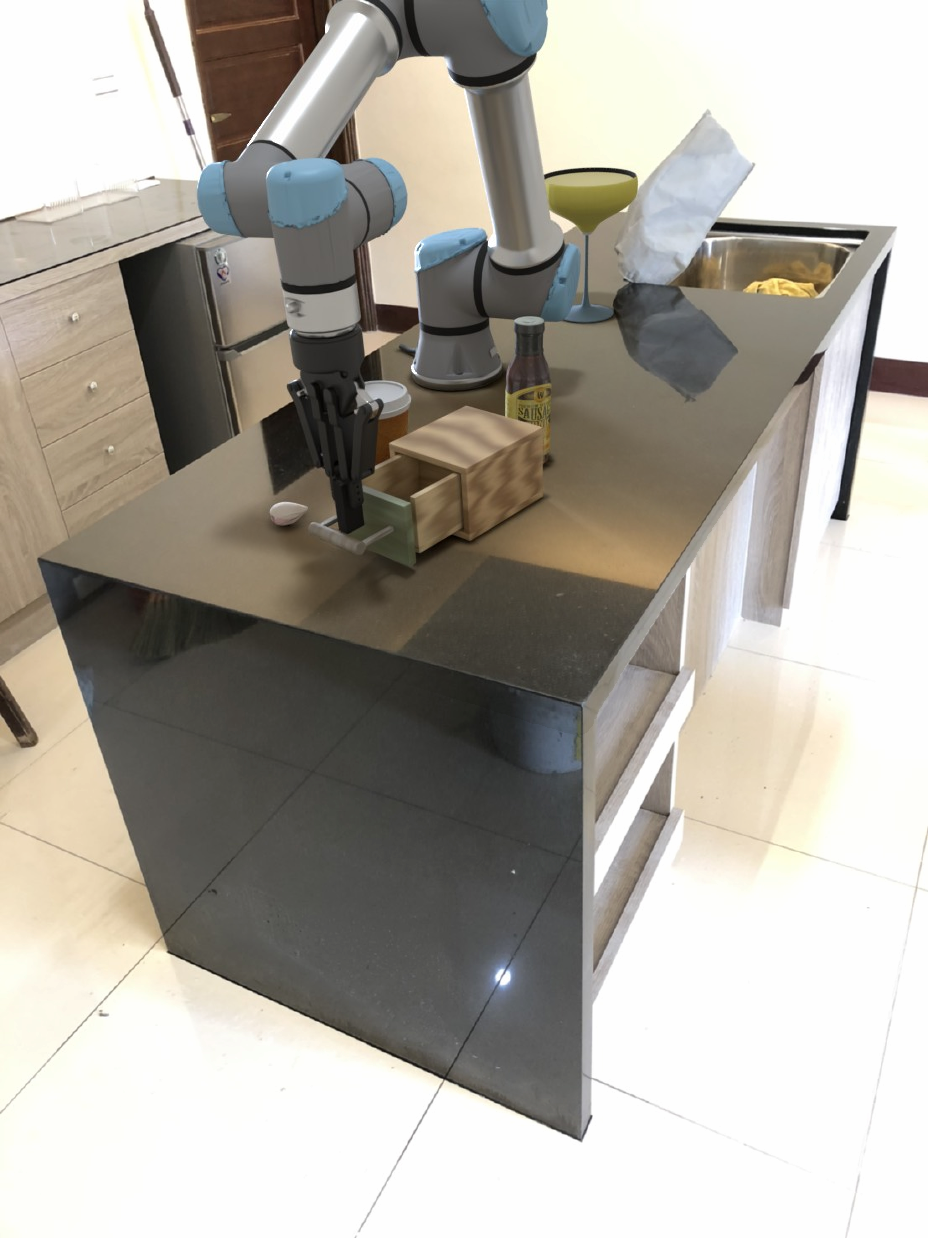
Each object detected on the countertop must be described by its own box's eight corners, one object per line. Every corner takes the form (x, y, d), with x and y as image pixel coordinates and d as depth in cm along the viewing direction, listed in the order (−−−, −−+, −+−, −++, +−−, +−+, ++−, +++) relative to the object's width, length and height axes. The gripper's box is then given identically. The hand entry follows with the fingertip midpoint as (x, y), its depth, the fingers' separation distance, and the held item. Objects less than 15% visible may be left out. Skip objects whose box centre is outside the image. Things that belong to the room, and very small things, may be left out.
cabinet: (470, 541, 124) (465, 468, 118) (395, 512, 131) (388, 443, 125) (543, 496, 133) (542, 426, 127) (469, 472, 140) (466, 405, 134)
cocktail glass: (569, 296, 207) (570, 164, 193) (648, 307, 197) (655, 170, 183) (521, 320, 195) (518, 182, 181) (603, 334, 185) (607, 189, 172)
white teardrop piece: (268, 518, 131) (265, 501, 130) (305, 509, 133) (302, 492, 132) (276, 532, 128) (273, 515, 127) (314, 523, 130) (311, 506, 128)
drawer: (371, 590, 113) (363, 528, 109) (303, 559, 120) (293, 500, 116) (484, 521, 126) (482, 464, 121) (417, 497, 132) (412, 441, 128)
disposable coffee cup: (391, 494, 135) (383, 410, 129) (335, 480, 140) (324, 398, 133) (430, 467, 142) (424, 385, 135) (376, 454, 146) (367, 375, 140)
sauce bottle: (519, 474, 138) (516, 331, 127) (497, 458, 143) (492, 319, 132) (560, 463, 141) (560, 321, 130) (536, 447, 146) (535, 310, 134)
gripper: (255, 325, 104) (290, 524, 118) (341, 348, 97) (368, 558, 110) (309, 306, 109) (337, 500, 122) (395, 326, 102) (414, 530, 115)
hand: (351, 527), depth 116 cm, fingers closed
